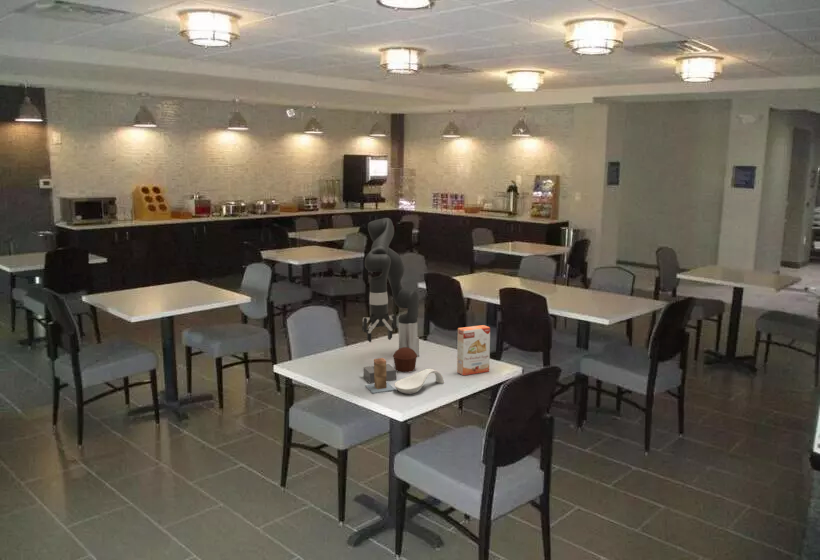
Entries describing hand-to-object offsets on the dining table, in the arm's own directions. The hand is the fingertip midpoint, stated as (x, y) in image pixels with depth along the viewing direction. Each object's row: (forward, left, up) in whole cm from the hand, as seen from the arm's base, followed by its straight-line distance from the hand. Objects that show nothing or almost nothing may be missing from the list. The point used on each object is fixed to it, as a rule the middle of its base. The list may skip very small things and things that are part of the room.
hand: (379, 340), depth 272 cm
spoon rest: (-15, +6, -21) cm, 27 cm away
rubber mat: (0, 0, -21) cm, 21 cm away
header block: (-4, -13, -21) cm, 25 cm away
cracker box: (-46, -5, -21) cm, 51 cm away
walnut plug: (0, 0, -20) cm, 20 cm away
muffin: (-19, -21, -21) cm, 35 cm away
